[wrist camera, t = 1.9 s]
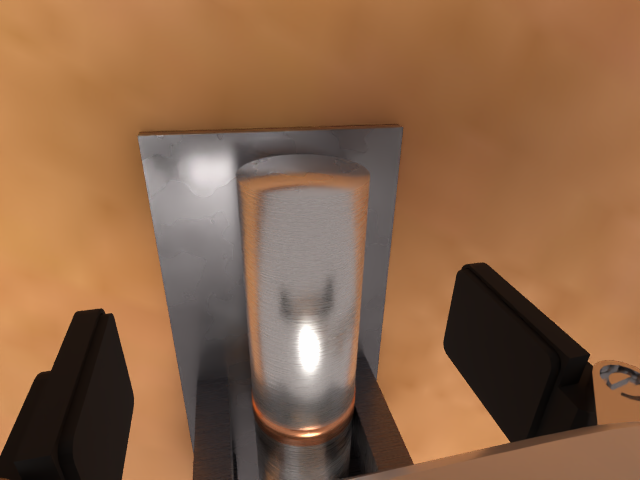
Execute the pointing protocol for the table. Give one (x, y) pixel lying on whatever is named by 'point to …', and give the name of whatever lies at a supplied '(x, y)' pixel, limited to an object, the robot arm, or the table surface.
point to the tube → (303, 308)
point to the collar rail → (229, 292)
